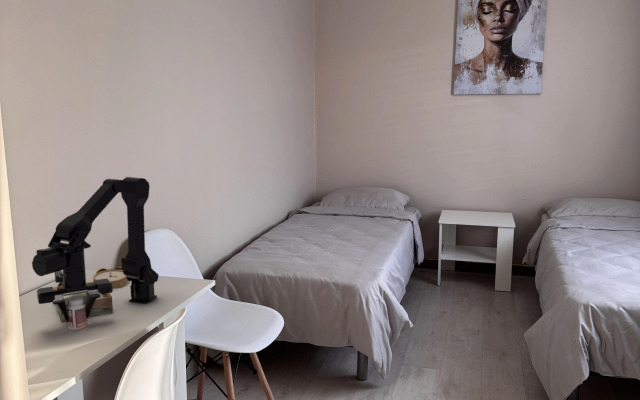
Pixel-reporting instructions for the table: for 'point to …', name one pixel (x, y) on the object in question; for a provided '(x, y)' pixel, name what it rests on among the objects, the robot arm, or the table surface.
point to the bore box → (99, 307)
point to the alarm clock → (112, 276)
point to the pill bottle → (76, 313)
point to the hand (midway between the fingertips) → (77, 319)
